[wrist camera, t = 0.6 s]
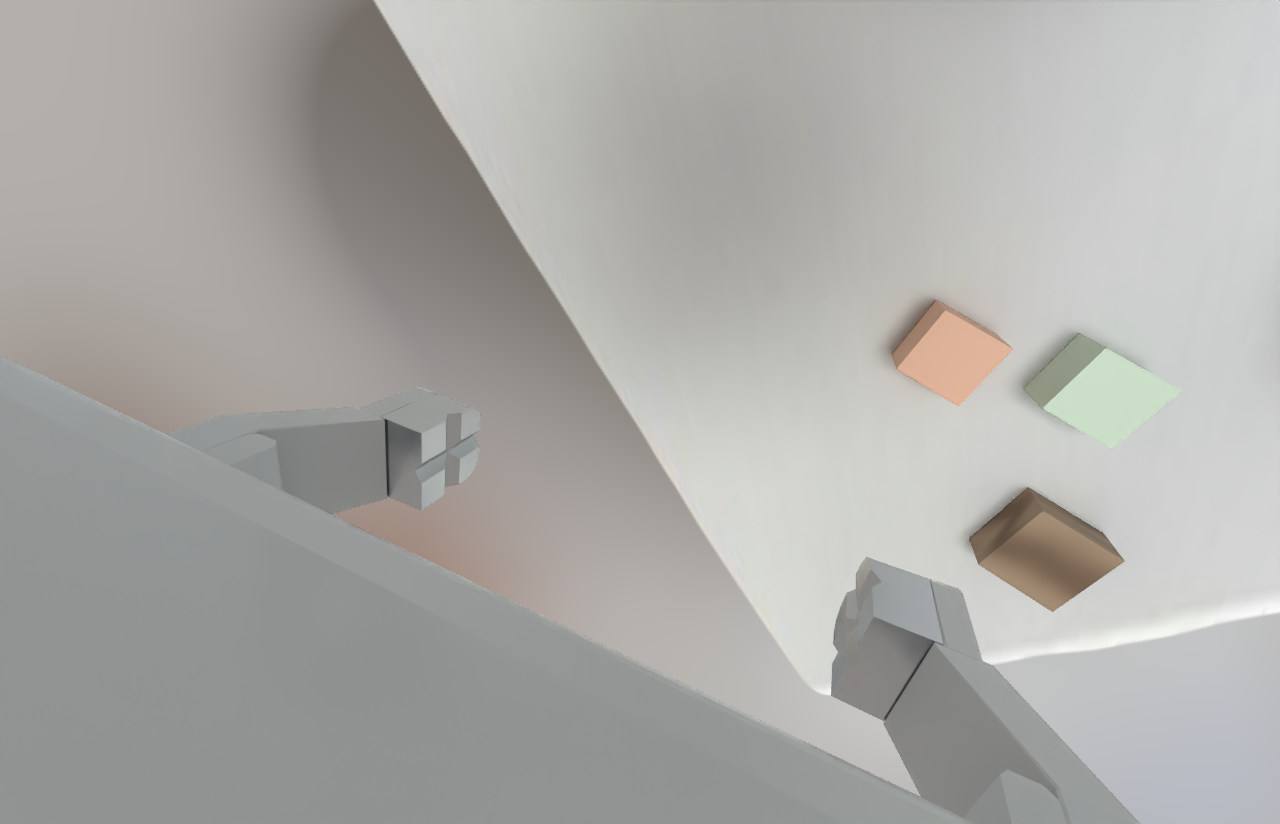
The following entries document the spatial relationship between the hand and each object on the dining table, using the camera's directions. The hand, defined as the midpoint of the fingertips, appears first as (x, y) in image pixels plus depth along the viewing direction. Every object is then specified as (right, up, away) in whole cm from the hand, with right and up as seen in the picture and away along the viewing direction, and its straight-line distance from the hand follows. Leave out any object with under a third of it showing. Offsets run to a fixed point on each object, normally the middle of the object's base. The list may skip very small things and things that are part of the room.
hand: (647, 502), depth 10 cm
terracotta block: (+26, +8, +34) cm, 43 cm away
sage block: (+35, +4, +31) cm, 47 cm away
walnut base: (+35, -9, +36) cm, 51 cm away
